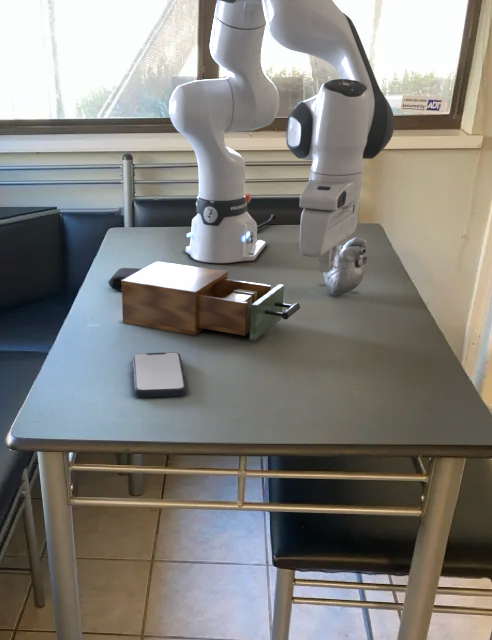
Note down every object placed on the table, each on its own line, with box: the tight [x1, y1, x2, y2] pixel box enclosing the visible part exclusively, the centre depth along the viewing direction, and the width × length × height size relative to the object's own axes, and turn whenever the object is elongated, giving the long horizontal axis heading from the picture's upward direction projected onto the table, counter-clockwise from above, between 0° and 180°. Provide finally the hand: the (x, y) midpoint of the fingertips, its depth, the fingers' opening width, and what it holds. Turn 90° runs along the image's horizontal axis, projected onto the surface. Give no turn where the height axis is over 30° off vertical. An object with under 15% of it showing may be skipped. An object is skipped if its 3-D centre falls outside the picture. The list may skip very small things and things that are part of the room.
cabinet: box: [121, 260, 229, 336], centre depth 167 cm, size 17×15×9 cm
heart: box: [322, 237, 368, 297], centre depth 176 cm, size 10×10×12 cm
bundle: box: [223, 289, 257, 320], centre depth 160 cm, size 9×4×5 cm, turn 149°
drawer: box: [197, 278, 301, 341], centre depth 160 cm, size 20×13×7 cm, turn 59°
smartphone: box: [132, 351, 187, 399], centre depth 143 cm, size 9×2×16 cm
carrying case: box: [108, 267, 143, 291], centre depth 185 cm, size 11×3×15 cm
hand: (326, 270), depth 148 cm, fingers closed
